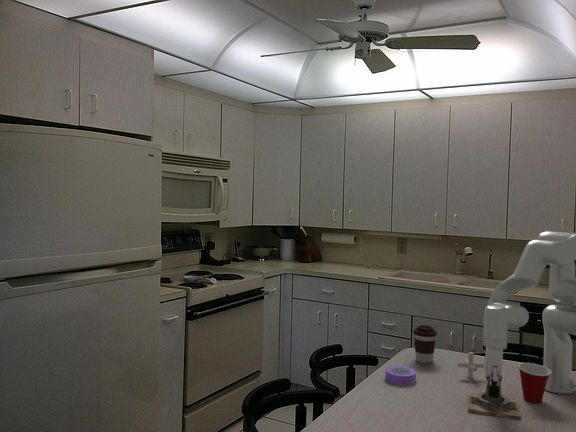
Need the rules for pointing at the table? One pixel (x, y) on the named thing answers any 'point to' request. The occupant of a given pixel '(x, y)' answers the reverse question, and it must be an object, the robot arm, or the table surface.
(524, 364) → the plastic cup
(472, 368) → the pipe connector
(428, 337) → the coffee cup
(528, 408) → the table surface
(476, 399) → the socket
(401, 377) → the masking tape
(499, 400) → the olive knobbed peg
